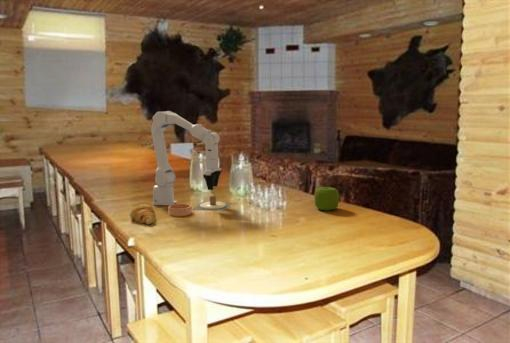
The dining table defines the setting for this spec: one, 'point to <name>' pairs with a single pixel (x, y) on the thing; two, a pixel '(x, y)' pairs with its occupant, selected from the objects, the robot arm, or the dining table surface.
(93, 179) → the dining table surface
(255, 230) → the dining table surface
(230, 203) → the mat
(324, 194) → the green rounded cube
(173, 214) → the brown rounded ring
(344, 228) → the dining table surface
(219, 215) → the dining table surface
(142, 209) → the croissant
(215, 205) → the lid
